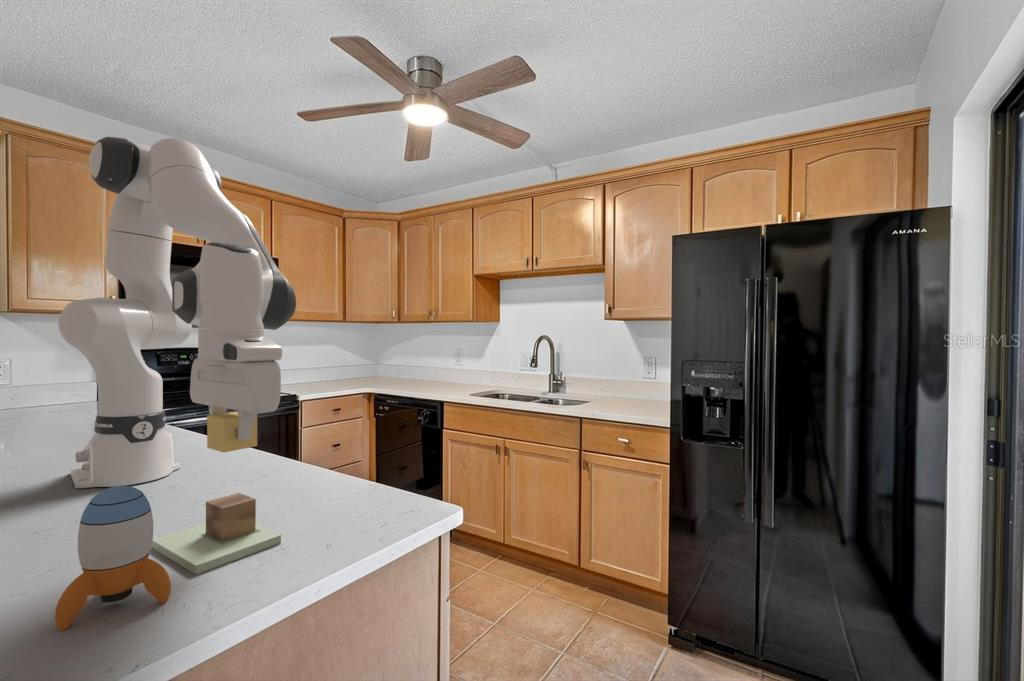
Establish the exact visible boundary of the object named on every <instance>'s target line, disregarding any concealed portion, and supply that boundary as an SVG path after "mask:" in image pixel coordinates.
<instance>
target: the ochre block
mask: <svg viewBox="0 0 1024 681" xmlns="http://www.w3.org/2000/svg"><path fill="white" fill-rule="evenodd" d="M239 419H240V418H238V411H234V412H233V411H231V412H230V411H229V412H225V413H223V414H215V415H210V414H207V415H206V428H207V429H206V431H207V432H206V434H207V435H206V436H207V437H206V439H207V440H206V441H207V442H206V448H207V449H211V450H213V451H217V452H221V453H228V452H235V451H239V450H244V449H249V448H253V447H258V414H256V419H255V421H254V424H253V426H252V436H251V438H250V439H247V440H239V439H236V438H235V428H238V424H239Z"/></svg>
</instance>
